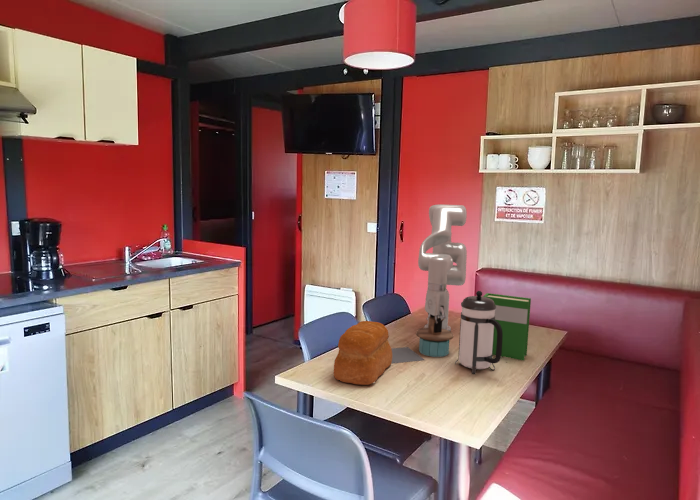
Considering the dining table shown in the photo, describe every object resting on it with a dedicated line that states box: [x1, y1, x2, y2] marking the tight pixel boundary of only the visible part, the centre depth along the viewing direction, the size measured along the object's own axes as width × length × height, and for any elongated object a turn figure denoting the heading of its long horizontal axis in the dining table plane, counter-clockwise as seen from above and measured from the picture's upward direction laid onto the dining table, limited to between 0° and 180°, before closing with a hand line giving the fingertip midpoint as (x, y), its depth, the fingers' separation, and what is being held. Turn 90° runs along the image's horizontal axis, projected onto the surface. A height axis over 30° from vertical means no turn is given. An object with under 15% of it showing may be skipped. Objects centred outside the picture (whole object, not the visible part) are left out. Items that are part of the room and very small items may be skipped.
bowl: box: [418, 337, 450, 358], centre depth 199 cm, size 12×12×6 cm
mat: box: [391, 346, 426, 365], centre depth 194 cm, size 16×16×1 cm
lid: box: [416, 317, 454, 341], centre depth 198 cm, size 15×15×7 cm
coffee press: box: [454, 290, 503, 375], centre depth 181 cm, size 17×16×30 cm
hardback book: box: [482, 292, 532, 361], centre depth 199 cm, size 18×7×24 cm, turn 62°
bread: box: [333, 320, 392, 386], centre depth 176 cm, size 16×26×17 cm, turn 157°
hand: (434, 330), depth 198 cm, fingers closed on lid, 4 cm apart
